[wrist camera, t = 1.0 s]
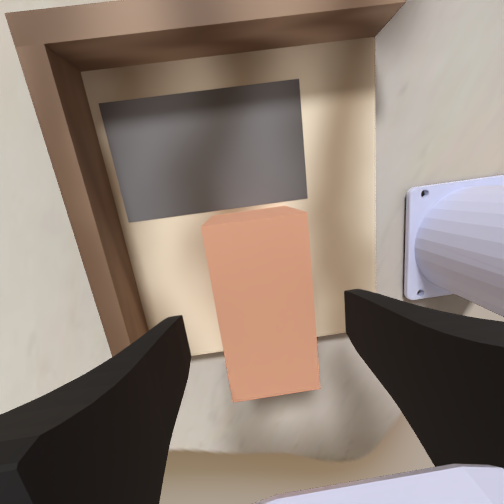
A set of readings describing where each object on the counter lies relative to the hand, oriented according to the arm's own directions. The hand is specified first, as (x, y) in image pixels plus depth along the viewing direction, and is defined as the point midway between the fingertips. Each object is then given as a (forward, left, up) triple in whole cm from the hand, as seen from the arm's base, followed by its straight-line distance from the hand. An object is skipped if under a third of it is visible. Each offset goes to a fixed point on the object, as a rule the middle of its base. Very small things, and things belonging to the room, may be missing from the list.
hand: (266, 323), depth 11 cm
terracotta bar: (0, 0, -6) cm, 6 cm away
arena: (0, -5, -7) cm, 8 cm away
